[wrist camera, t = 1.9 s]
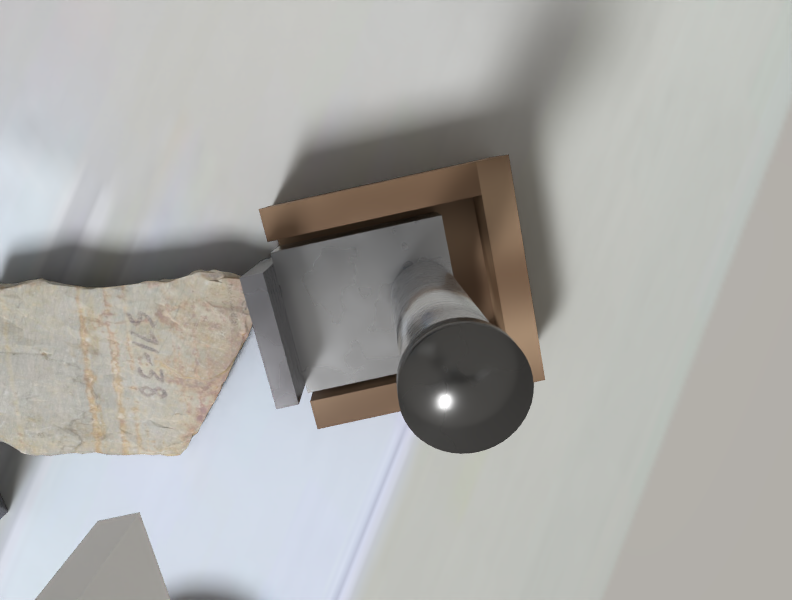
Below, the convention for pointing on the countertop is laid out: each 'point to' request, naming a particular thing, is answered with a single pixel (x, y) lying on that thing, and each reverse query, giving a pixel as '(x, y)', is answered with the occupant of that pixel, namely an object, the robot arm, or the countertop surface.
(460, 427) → the ram
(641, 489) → the countertop surface
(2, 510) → the grey rectangular bar
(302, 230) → the frame
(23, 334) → the stone
